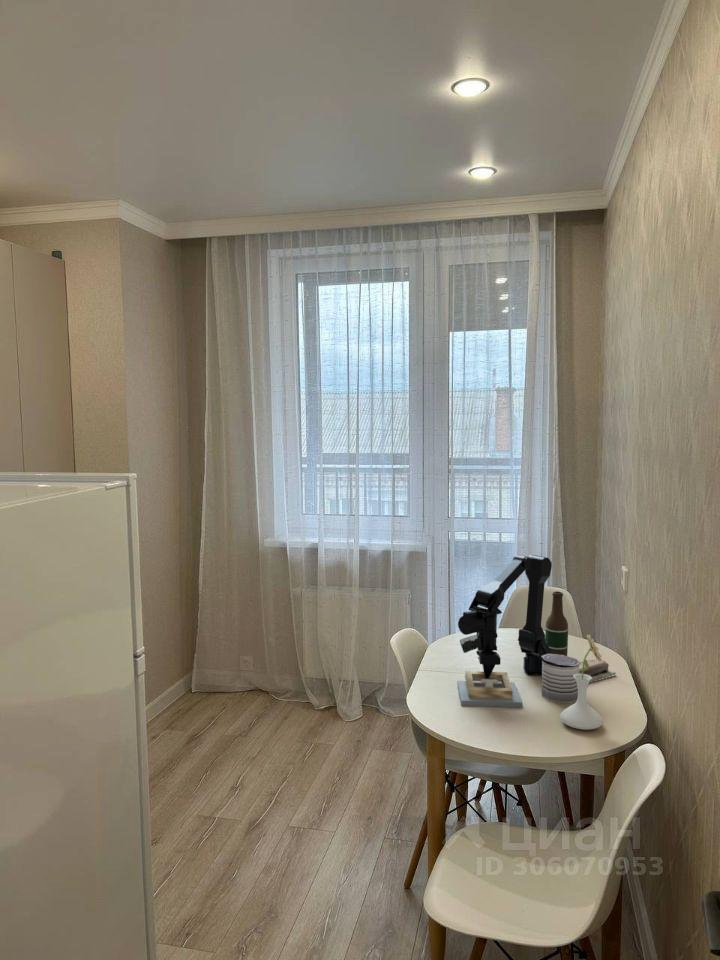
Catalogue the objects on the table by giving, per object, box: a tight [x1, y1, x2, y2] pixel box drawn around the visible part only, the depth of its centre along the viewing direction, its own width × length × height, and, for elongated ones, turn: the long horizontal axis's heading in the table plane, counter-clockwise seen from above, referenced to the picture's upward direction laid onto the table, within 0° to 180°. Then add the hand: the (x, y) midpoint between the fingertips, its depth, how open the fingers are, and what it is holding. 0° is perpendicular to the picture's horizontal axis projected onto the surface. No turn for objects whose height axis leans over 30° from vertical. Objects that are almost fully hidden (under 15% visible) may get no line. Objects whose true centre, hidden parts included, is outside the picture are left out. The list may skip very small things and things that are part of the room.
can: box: [541, 654, 581, 704], centre depth 214 cm, size 11×11×12 cm
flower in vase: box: [559, 634, 604, 731], centre depth 194 cm, size 13×11×25 cm
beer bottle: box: [544, 590, 569, 656], centre depth 248 cm, size 8×8×24 cm
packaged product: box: [579, 659, 617, 683], centre depth 232 cm, size 18×5×10 cm
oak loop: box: [464, 670, 513, 699], centre depth 215 cm, size 13×13×2 cm
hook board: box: [456, 679, 523, 708], centre depth 214 cm, size 18×16×6 cm
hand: (486, 677), depth 221 cm, fingers closed on oak loop, 2 cm apart
